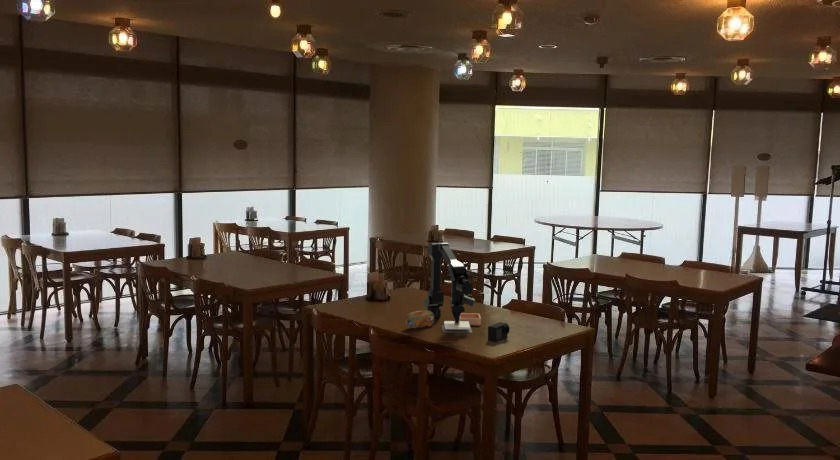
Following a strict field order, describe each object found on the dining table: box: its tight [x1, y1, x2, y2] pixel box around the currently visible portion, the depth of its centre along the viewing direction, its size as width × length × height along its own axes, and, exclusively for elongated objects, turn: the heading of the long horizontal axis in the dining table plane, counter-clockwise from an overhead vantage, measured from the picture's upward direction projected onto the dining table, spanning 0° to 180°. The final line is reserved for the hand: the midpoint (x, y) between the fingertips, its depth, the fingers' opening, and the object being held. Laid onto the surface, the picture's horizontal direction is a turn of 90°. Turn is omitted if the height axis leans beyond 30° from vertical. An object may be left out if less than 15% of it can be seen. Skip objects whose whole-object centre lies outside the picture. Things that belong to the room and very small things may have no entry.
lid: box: [443, 318, 471, 329], centre depth 348 cm, size 12×12×5 cm
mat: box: [441, 325, 473, 334], centre depth 348 cm, size 14×13×1 cm
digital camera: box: [487, 321, 510, 343], centre depth 330 cm, size 10×5×7 cm, turn 142°
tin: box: [405, 309, 436, 329], centre depth 352 cm, size 15×3×8 cm, turn 117°
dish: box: [460, 312, 482, 326], centre depth 360 cm, size 10×10×4 cm
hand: (457, 322), depth 348 cm, fingers closed on lid, 3 cm apart
